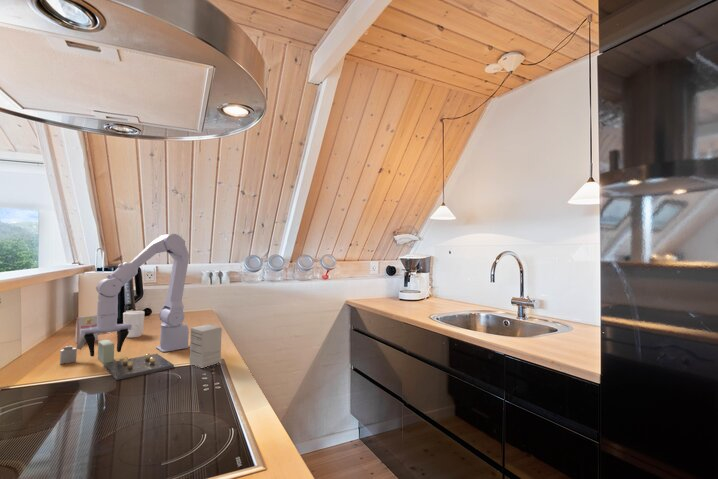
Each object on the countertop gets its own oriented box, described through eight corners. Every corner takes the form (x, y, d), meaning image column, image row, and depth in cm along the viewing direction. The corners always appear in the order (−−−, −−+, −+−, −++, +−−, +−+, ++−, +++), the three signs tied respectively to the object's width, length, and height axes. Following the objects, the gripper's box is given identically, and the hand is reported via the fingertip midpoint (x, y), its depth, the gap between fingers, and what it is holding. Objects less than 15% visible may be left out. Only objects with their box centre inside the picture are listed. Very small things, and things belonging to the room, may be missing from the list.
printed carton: (75, 341, 146) (76, 316, 146) (95, 338, 151) (96, 314, 151) (76, 343, 143) (77, 318, 143) (97, 340, 148) (98, 316, 148)
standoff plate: (156, 356, 131) (157, 348, 131) (173, 367, 120) (174, 358, 120) (103, 366, 119) (103, 357, 119) (116, 380, 108) (117, 369, 108)
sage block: (107, 356, 129) (108, 339, 129) (113, 362, 124) (114, 344, 124) (97, 358, 127) (98, 341, 127) (103, 364, 122) (103, 345, 122)
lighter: (60, 364, 120) (61, 339, 120) (59, 362, 121) (60, 338, 121) (87, 359, 125) (88, 336, 125) (86, 358, 126) (87, 335, 126)
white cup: (127, 339, 152) (128, 315, 152) (118, 336, 156) (119, 312, 156) (147, 335, 158) (148, 312, 158) (138, 332, 163) (139, 310, 163)
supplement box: (208, 359, 130) (209, 323, 130) (221, 364, 125) (222, 327, 125) (188, 364, 124) (190, 327, 124) (201, 369, 119) (202, 330, 119)
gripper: (128, 309, 134) (126, 347, 134) (78, 314, 123) (77, 354, 123) (133, 312, 129) (132, 351, 129) (83, 317, 118) (81, 360, 118)
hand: (105, 353), depth 126 cm, fingers open, 7 cm apart
